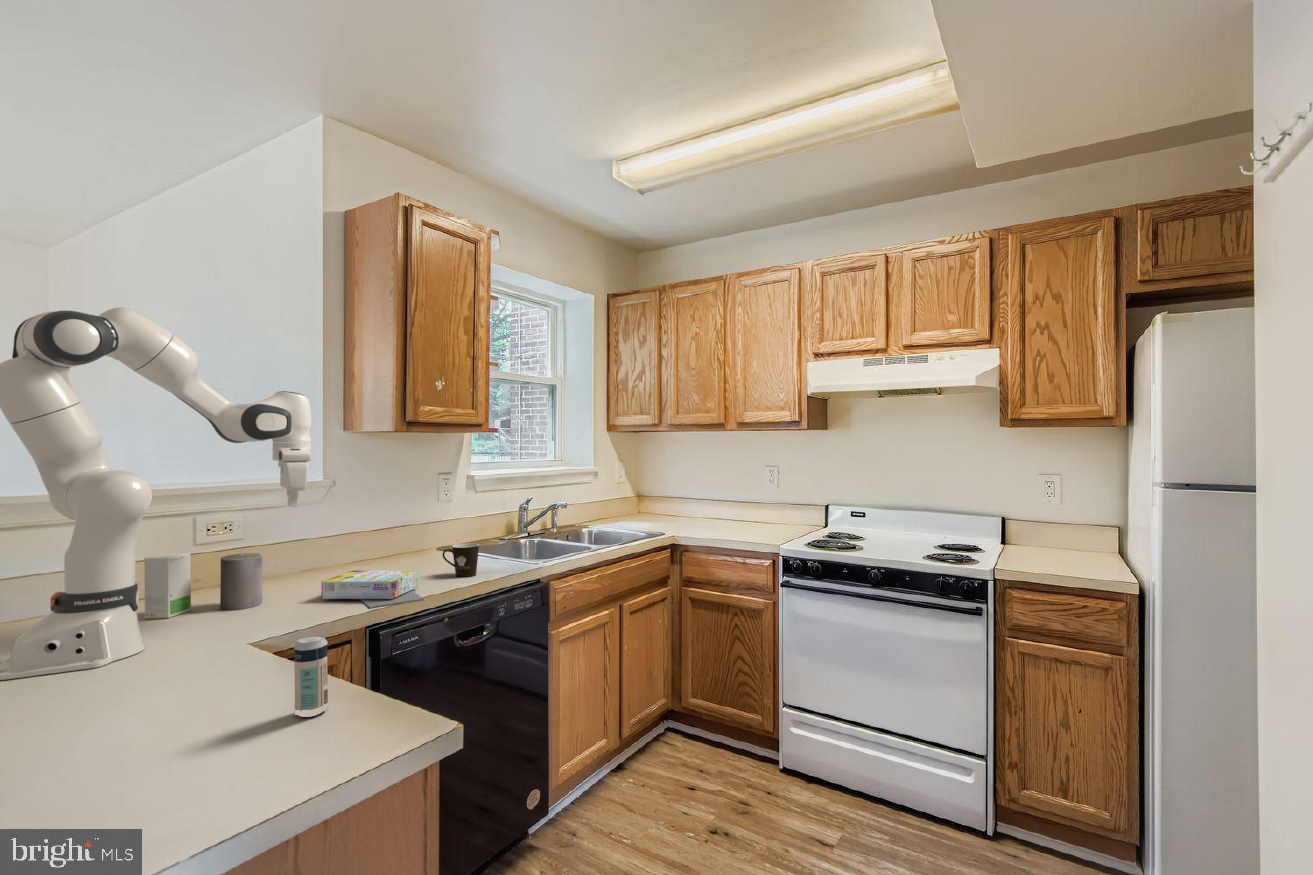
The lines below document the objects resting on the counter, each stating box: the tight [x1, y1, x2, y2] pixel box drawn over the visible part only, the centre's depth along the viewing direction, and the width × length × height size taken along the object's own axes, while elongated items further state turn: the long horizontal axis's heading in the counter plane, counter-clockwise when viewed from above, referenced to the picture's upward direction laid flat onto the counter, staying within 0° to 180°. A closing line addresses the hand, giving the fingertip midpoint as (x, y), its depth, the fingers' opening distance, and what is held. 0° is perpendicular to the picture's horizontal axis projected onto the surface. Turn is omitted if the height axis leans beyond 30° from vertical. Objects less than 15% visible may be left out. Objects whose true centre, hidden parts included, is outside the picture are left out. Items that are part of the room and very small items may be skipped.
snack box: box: [320, 570, 419, 600], centre depth 178 cm, size 21×6×15 cm
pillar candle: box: [219, 550, 263, 611], centre depth 168 cm, size 10×10×15 cm
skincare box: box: [143, 552, 192, 620], centre depth 160 cm, size 8×7×16 cm
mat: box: [359, 590, 425, 609], centre depth 174 cm, size 14×17×1 cm
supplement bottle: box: [293, 634, 329, 711], centre depth 99 cm, size 5×5×12 cm
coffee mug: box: [442, 542, 480, 579], centre depth 204 cm, size 12×9×10 cm
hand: (292, 506), depth 161 cm, fingers closed
